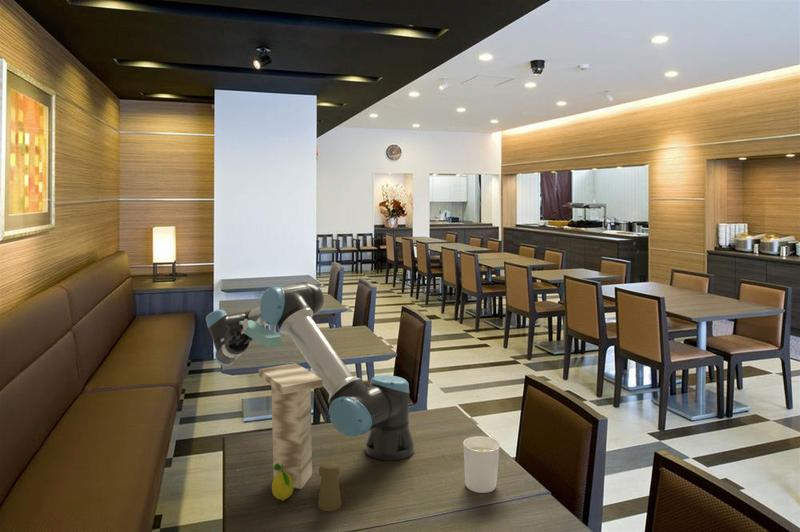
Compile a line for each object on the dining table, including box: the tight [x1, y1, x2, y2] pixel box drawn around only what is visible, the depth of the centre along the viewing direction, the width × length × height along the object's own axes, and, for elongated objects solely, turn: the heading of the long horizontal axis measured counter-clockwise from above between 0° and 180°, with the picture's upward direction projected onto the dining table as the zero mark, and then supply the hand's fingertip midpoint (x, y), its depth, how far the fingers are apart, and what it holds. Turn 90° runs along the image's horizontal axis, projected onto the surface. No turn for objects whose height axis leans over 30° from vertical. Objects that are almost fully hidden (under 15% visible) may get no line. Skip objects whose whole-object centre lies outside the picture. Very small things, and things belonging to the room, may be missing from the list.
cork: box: [317, 460, 342, 512], centre depth 144 cm, size 6×6×11 cm
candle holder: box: [462, 435, 501, 494], centre depth 154 cm, size 10×10×12 cm
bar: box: [239, 320, 282, 349], centre depth 173 cm, size 26×4×3 cm, turn 33°
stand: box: [258, 362, 324, 490], centre depth 156 cm, size 11×18×30 cm, turn 33°
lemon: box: [271, 463, 294, 502], centre depth 146 cm, size 7×6×10 cm
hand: (254, 322), depth 177 cm, fingers closed on bar, 4 cm apart
